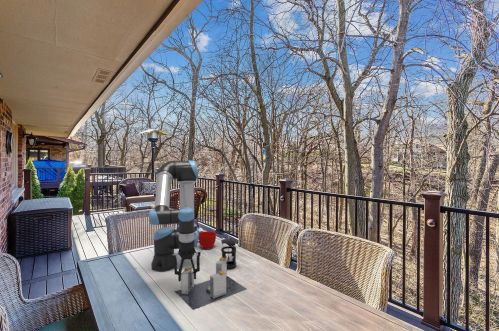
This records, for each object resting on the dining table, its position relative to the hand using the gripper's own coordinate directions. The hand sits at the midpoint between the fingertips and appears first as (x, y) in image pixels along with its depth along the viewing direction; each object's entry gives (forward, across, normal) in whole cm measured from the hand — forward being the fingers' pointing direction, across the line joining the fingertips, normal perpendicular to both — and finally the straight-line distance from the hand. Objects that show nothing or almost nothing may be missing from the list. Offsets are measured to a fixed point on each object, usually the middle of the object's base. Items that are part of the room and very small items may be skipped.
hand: (187, 286), depth 139 cm
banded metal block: (+2, +14, -9) cm, 17 cm away
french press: (+4, +27, +22) cm, 35 cm away
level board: (+4, +11, -3) cm, 12 cm away
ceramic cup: (+5, +18, +62) cm, 65 cm away
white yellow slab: (+3, +19, +6) cm, 20 cm away
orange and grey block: (+2, 0, 0) cm, 2 cm away
